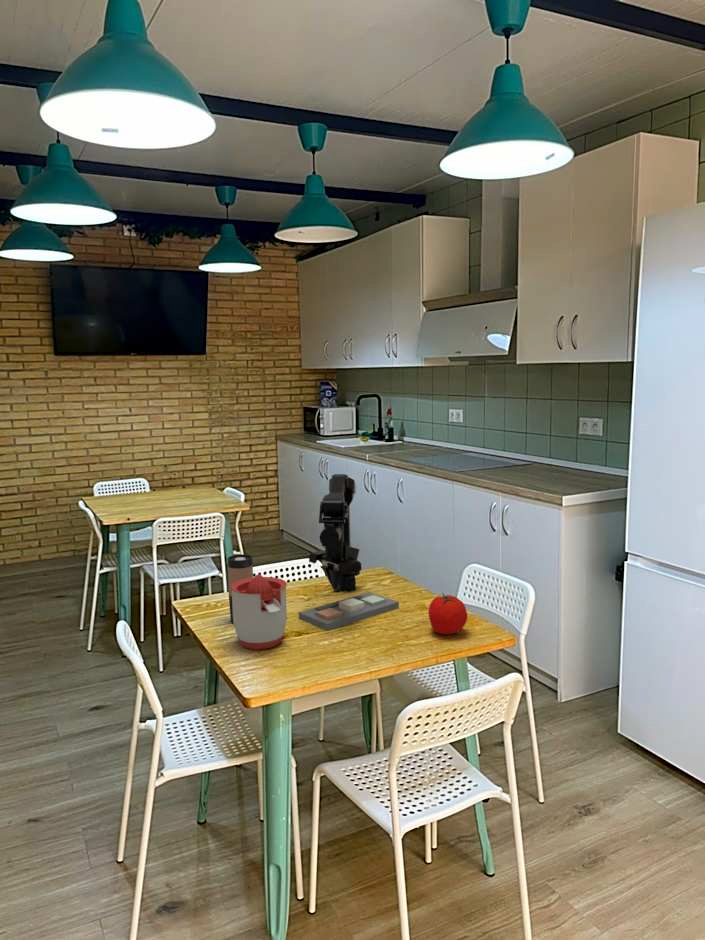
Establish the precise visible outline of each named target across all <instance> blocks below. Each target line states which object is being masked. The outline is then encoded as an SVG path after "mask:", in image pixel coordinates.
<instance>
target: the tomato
mask: <svg viewBox="0 0 705 940" xmlns="http://www.w3.org/2000/svg"><path fill="white" fill-rule="evenodd" d="M441 593H442V596H436V597H434V598H433V599H432V601H431V602H430V604H429V606H428V618H429V619H428V620H429V622H430V626H431V628H432V629H433V631H434V632H435V633H436V634H442V635H450V634H456V633H458V632H460V631H461V630H463V628H464V627H465V625H466V623H467V620H468V612H467V608H466V605H465V604H464V602H463V601H461V599H460V598H458V597H457V596H453V595H450V594H446V595H445V594H444V592H441Z"/></svg>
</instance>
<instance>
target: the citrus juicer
mask: <svg viewBox="0 0 705 940" xmlns="http://www.w3.org/2000/svg"><path fill="white" fill-rule="evenodd" d="M287 586H288V584H287V581H286V580H284V579H282V578H279V577H271V576H263V575H261V574H260V573H258V574H256V575H255V576H253V578H247V579H242V580H239V581H237V582H235V583H233V584H232V585H231V589H232V608H233V622H234V624H233V626H234V627H233V628H234V630H235V633H236V637H237V640H238V641H239V644H240V645H241V646H242V647H244V648H246V649H250V650H252V651H253V650H254V651H258V650H266V649H270V648H273V647H276V646H278V645H280V644H281V642H282V640H283V637H284V636H285V630H286V627H287V620H288V619H287V618H288V617H287V616H288V614H287V612H288V611H287Z"/></svg>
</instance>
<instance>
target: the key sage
mask: <svg viewBox="0 0 705 940" xmlns="http://www.w3.org/2000/svg"><path fill="white" fill-rule="evenodd" d="M361 601H362V602H364V603H365V604H368V605H371V606H374V605H377V604H381V603H384V602H386V599H384V598H381V597H378V596H375V595H372V596H369V597H366V598H362V599H361Z"/></svg>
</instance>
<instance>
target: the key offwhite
mask: <svg viewBox="0 0 705 940" xmlns="http://www.w3.org/2000/svg"><path fill="white" fill-rule="evenodd" d="M339 609H342V610H345V611H347V612H350V613H351V612H355V611H358V610H361V609H364V602H362V601H359V600H357V599H354V598H351V599H348V600H344V601H341V602H339Z"/></svg>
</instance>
